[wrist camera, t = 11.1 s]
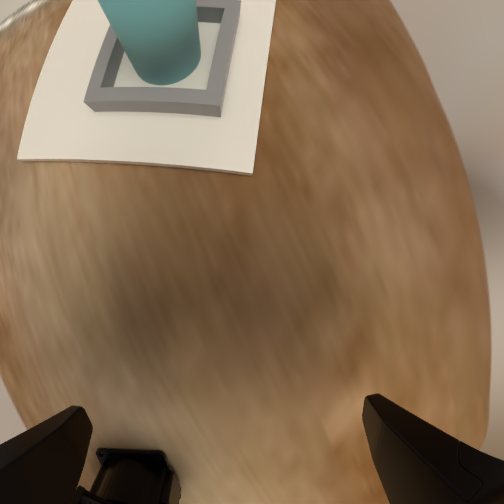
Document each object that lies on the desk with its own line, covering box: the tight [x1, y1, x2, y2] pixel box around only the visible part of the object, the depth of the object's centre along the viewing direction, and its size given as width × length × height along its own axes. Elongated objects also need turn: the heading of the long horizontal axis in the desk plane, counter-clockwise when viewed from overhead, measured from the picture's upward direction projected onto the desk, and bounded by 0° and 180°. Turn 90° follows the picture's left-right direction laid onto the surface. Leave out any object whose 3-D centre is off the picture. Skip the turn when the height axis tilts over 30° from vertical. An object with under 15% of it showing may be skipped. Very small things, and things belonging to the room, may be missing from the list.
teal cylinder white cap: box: [98, 0, 201, 85], centre depth 13 cm, size 5×5×11 cm
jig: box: [17, 0, 276, 176], centre depth 17 cm, size 16×18×3 cm
